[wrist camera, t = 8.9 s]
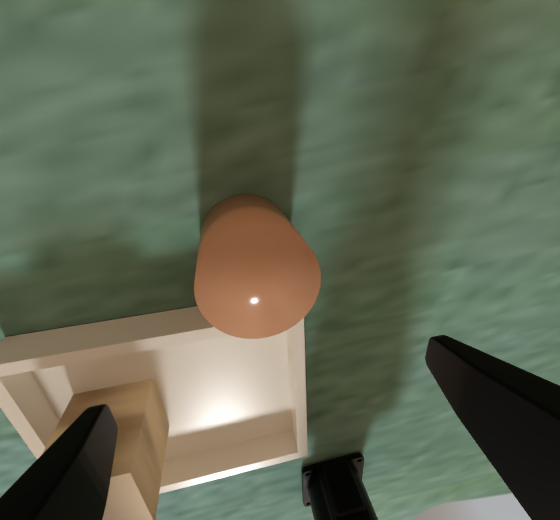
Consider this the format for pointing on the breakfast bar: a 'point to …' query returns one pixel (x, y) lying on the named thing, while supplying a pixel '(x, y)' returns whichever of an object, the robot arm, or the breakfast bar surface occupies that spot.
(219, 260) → the terracotta domed cylinder
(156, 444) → the maple block
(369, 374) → the breakfast bar surface
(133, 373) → the tray
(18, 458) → the breakfast bar surface
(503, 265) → the breakfast bar surface
